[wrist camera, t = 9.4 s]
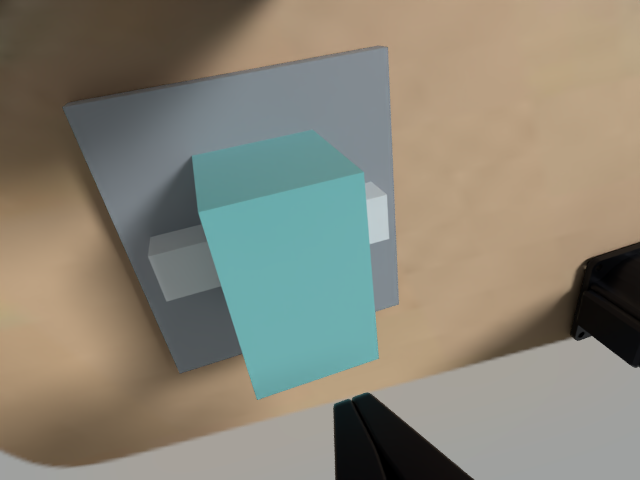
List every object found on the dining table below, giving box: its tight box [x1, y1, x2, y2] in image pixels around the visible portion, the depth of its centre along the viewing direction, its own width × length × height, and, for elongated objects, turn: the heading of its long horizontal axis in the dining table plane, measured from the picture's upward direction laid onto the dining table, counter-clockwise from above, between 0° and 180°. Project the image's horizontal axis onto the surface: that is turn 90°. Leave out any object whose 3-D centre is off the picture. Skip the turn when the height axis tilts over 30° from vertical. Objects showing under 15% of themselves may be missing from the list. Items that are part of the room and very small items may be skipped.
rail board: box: [62, 46, 399, 373], centre depth 17 cm, size 11×12×2 cm
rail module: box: [192, 130, 379, 400], centre depth 15 cm, size 4×7×5 cm, turn 8°
